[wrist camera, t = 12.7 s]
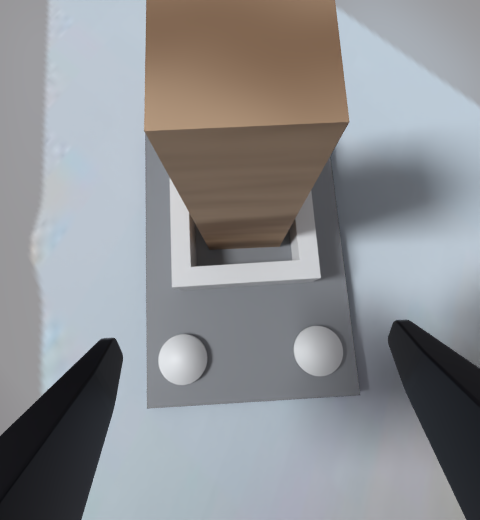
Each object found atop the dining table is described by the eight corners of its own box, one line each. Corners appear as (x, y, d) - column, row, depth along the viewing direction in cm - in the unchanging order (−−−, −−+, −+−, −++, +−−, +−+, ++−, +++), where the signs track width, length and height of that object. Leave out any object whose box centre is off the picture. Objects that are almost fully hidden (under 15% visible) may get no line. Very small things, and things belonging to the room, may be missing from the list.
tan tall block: (279, 246, 21) (349, 121, 7) (209, 249, 21) (144, 131, 7) (274, 171, 22) (327, -67, 8) (207, 174, 22) (147, -59, 8)
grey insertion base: (355, 391, 20) (377, 407, 17) (150, 404, 20) (132, 422, 17) (323, 126, 23) (336, 96, 20) (148, 137, 23) (133, 109, 20)
